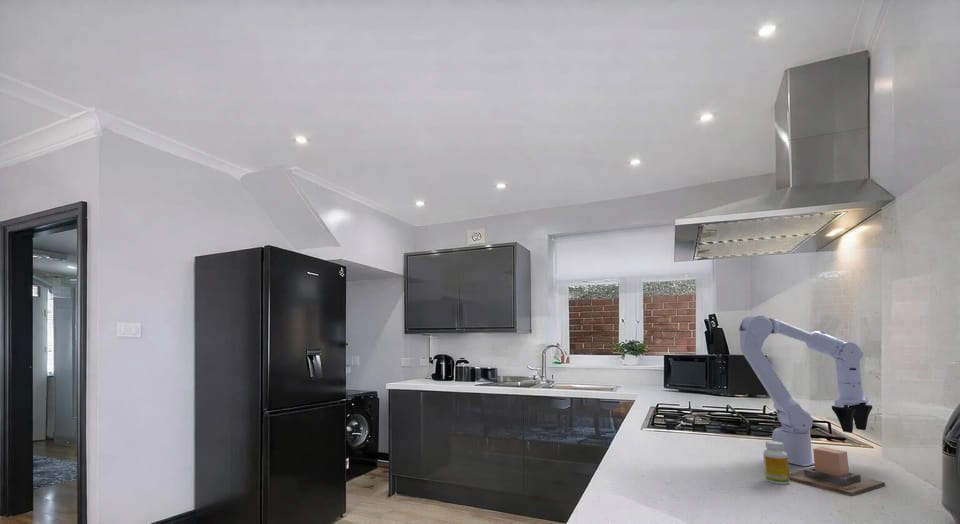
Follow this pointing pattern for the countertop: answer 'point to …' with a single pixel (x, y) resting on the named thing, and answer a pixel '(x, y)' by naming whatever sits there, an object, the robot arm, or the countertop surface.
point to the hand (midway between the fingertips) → (854, 430)
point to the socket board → (836, 481)
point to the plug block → (831, 461)
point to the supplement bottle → (776, 463)
